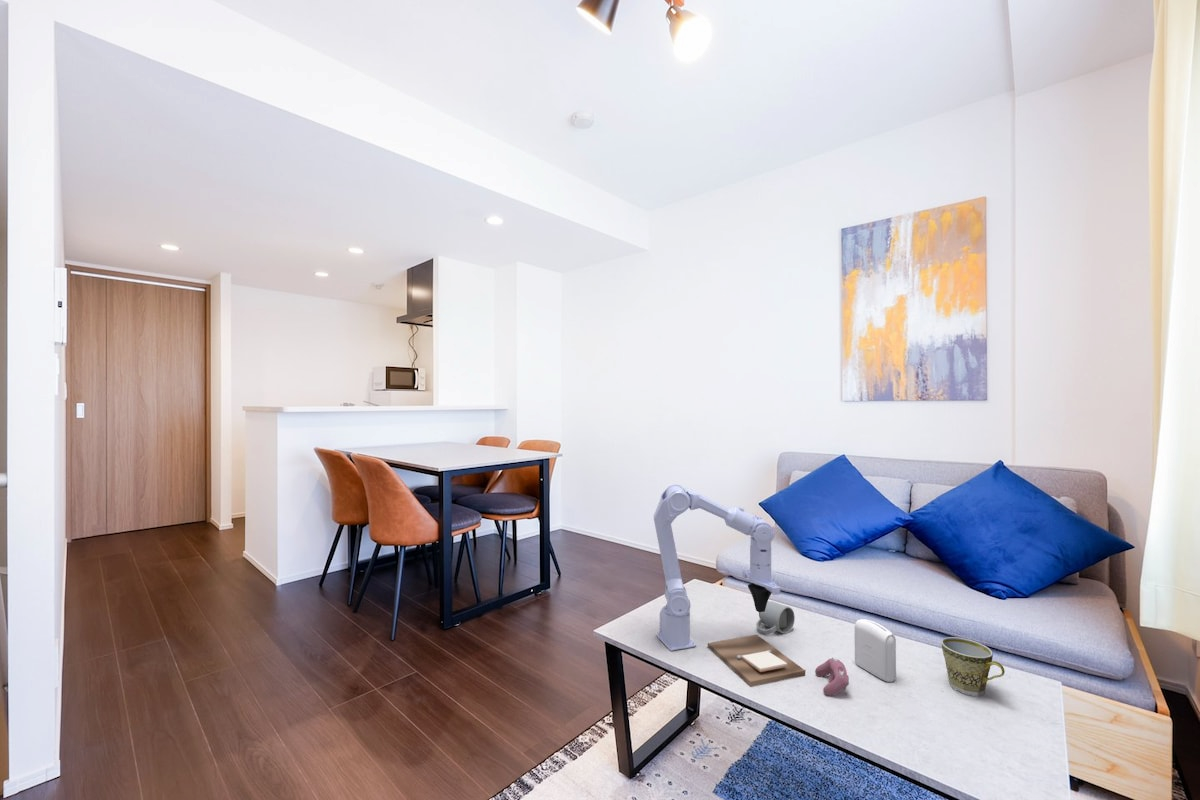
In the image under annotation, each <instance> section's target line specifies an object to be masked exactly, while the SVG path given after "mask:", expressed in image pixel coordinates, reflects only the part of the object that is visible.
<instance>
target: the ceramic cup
mask: <svg viewBox="0 0 1200 800" xmlns="http://www.w3.org/2000/svg"><path fill="white" fill-rule="evenodd" d="M941 649H942V653H943V658H944V661H945V668H946V672H947V678H948V682H949V685H950V686H951V688H952V689H953V688H954V689H953V690H955V689H956V690H955V691H957V690H958V691H957V692H959V691H960V692H959V693H961V692H962V693H961V694H963V693H964V694H963V695H966V694H968V695H967V696H971V695H973V696H972V697H976V696H978V697H980V695H981V696H983V695H984V694H985V691H986V686H987V682H988V681H991V680H993V679H995V678H1001V677H1003V676H1004V675H1005V673H1006V671H1005V669H1004V666H1003V665H1002V664H1001V663H1000V662H997V661H993V655H994V653H993V651H992V650H991V649H990V648H989V647H988V646H987V645H984V644H982V643H981V642H977V641H974V640H971V639H969V638H963V637H956V636H951V637H950V636H949V637H944V638H943V639H941ZM991 666H997V667H998V668H1000V670H1001V674H1000V673H999V674H997V675H993V676H991V677H989V675H990V674H989V673H990V669H991ZM982 694H983V695H982Z"/></svg>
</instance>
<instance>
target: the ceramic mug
mask: <svg viewBox="0 0 1200 800" xmlns="http://www.w3.org/2000/svg"><path fill="white" fill-rule="evenodd" d="M758 617H759V619H758V621H757V622H756V628H757V631H758V632H759V633H760V634H762V635H771V634H773V633H775V632H778V633H780V634H783V635H784V634H785V635H786V634H788V633H790V632H791V631H792V629H793V627H794V624H795V618H796V616H795V612H794V610H793V609H792V607H791V606H787V605H784V604H780V603H778V602H776V601H775V602H774V601H769V600H768V602H767V605H766V609H765V612H758ZM762 624H764V625H765V626H766V627H769V628H768V629H762V628H761V627H760V626H761V625H762Z"/></svg>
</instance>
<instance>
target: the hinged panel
mask: <svg viewBox="0 0 1200 800" xmlns="http://www.w3.org/2000/svg"><path fill="white" fill-rule="evenodd" d="M741 658H742V659H743V660H744V661H746V662H747V663H748V664H750V665H751V666H753V667H754V668H755V669H757V670H758V671H760V672H763V671H769V670H774V669H779V668H784V667H788V666H787V663H786V662H784V661H783V660H781V659H780V658H778V657H776V656H775V655H773V654H772V653H771V650H766V651H764V652H759V653H753V654H748V655H742V657H741V655H738V656H737V659H741Z"/></svg>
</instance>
